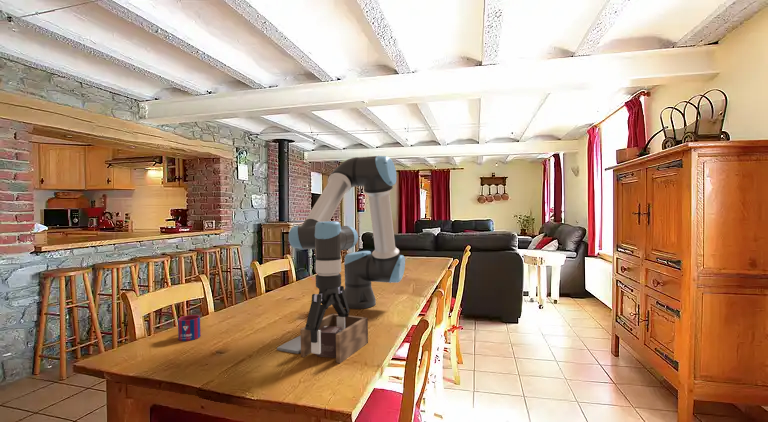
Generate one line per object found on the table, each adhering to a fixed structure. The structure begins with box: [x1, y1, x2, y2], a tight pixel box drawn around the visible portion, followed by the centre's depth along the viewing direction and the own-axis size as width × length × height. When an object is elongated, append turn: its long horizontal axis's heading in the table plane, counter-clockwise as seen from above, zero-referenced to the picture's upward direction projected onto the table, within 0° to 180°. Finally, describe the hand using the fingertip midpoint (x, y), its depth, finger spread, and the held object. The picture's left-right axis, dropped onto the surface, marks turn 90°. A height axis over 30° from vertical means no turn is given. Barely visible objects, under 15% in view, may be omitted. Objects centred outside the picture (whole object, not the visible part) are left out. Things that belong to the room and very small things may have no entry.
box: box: [316, 326, 342, 358], centre depth 114 cm, size 6×6×7 cm
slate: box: [276, 334, 301, 355], centre depth 121 cm, size 12×8×1 cm, turn 155°
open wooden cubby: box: [300, 313, 369, 364], centre depth 117 cm, size 17×13×8 cm
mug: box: [177, 314, 202, 342], centre depth 131 cm, size 7×10×7 cm
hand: (329, 345), depth 114 cm, fingers open, 13 cm apart
